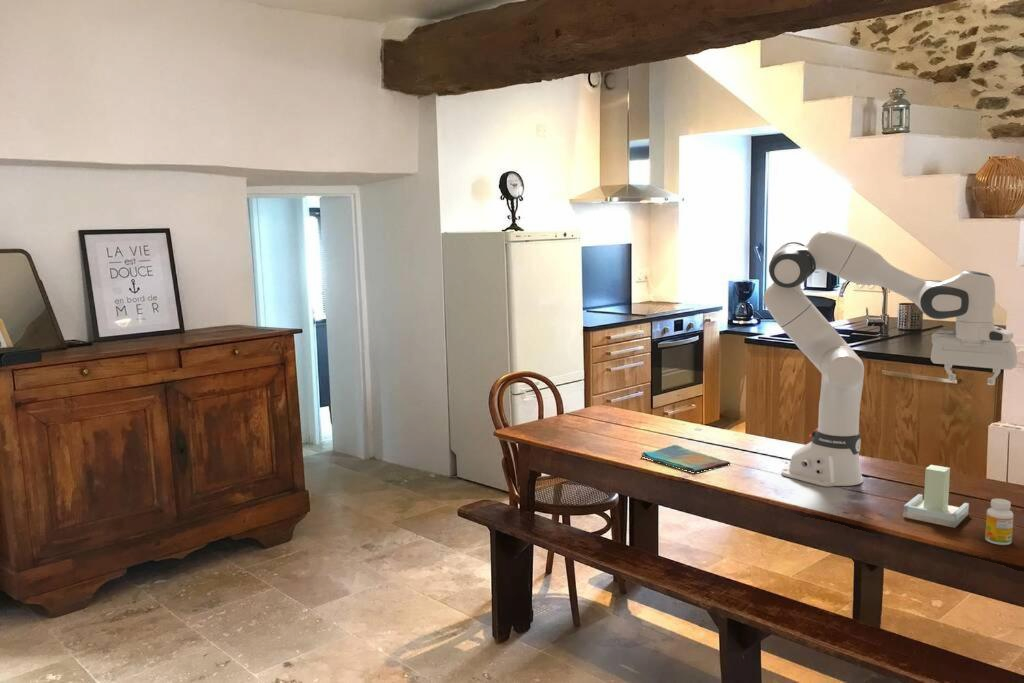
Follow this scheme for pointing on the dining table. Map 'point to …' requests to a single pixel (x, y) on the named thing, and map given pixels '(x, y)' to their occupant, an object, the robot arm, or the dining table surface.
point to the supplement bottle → (999, 522)
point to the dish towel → (685, 459)
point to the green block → (936, 488)
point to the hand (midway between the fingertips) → (971, 382)
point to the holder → (935, 513)
